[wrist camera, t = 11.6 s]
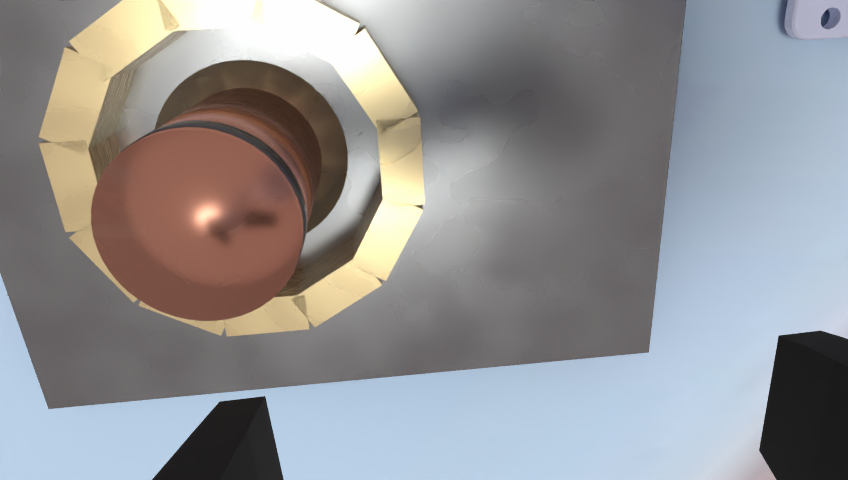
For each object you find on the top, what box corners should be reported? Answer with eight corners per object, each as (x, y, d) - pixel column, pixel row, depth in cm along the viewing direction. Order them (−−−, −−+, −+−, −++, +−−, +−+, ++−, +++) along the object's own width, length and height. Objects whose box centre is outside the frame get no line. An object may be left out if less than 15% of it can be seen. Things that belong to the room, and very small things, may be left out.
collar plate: (688, -178, 14) (748, -210, 12) (638, 338, 19) (672, 383, 17) (-122, -146, 13) (-221, -173, 11) (61, 392, 18) (19, 446, 16)
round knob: (346, 130, 15) (337, 188, 11) (286, 249, 16) (254, 349, 12) (207, 59, 14) (131, 89, 10) (153, 190, 15) (61, 273, 11)
